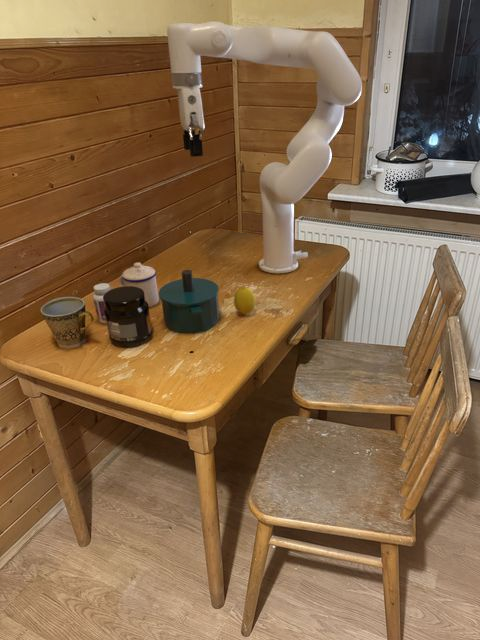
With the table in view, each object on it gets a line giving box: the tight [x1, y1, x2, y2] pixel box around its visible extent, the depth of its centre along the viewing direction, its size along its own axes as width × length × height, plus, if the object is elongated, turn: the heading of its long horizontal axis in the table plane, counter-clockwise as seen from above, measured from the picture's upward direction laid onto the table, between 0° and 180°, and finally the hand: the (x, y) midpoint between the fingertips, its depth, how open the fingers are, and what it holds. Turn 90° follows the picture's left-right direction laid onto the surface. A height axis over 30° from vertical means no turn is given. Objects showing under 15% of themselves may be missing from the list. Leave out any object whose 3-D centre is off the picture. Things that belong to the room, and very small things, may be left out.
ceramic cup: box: [40, 296, 95, 350], centre depth 122 cm, size 13×10×10 cm
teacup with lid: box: [118, 262, 160, 308], centre depth 140 cm, size 12×9×12 cm
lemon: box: [233, 286, 256, 316], centre depth 133 cm, size 6×6×8 cm
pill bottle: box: [92, 282, 111, 325], centre depth 132 cm, size 5×5×10 cm
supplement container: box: [103, 286, 153, 348], centre depth 123 cm, size 10×10×12 cm
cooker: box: [160, 294, 220, 334], centre depth 131 cm, size 14×20×8 cm
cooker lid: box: [158, 269, 220, 306], centre depth 128 cm, size 15×15×6 cm
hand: (193, 152), depth 137 cm, fingers open, 9 cm apart
